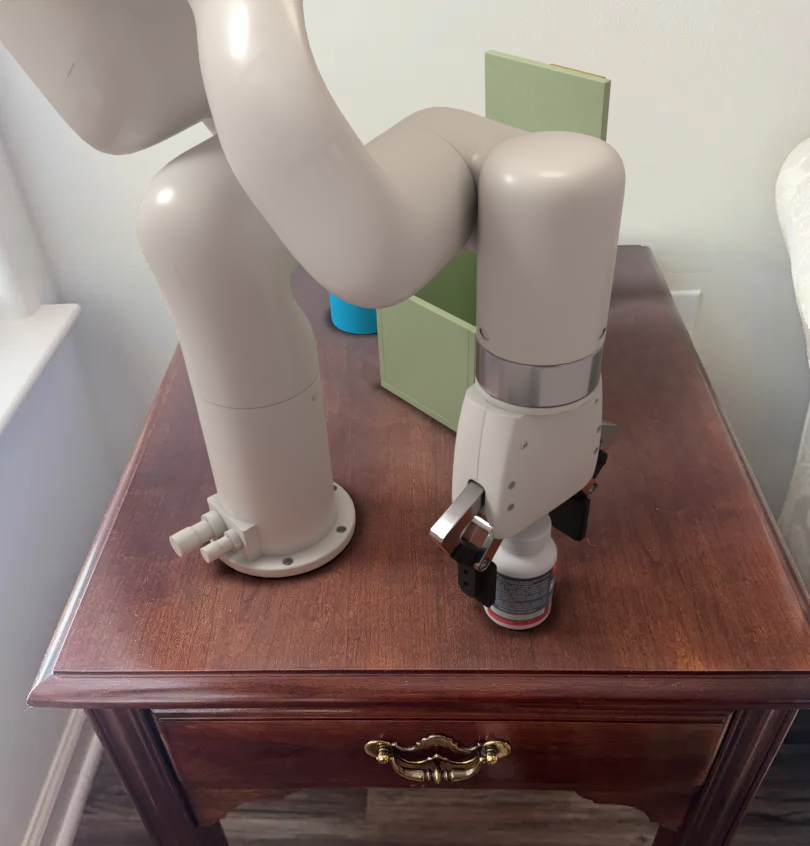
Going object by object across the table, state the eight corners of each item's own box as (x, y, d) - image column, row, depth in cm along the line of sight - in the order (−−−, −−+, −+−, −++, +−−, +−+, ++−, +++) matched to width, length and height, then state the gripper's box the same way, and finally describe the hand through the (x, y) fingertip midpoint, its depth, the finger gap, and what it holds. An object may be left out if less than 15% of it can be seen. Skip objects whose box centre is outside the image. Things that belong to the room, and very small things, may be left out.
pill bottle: (560, 625, 65) (571, 540, 59) (493, 637, 64) (498, 553, 58) (538, 576, 69) (547, 492, 62) (475, 587, 68) (478, 503, 62)
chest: (472, 442, 82) (475, 333, 73) (380, 386, 89) (374, 280, 81) (579, 379, 89) (592, 273, 81) (485, 331, 96) (489, 230, 88)
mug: (332, 336, 97) (325, 268, 91) (330, 301, 103) (324, 236, 97) (437, 328, 97) (437, 260, 92) (429, 294, 103) (428, 228, 98)
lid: (605, 82, 68) (647, 63, 71) (484, 51, 76) (525, 35, 78) (590, 270, 80) (626, 248, 82) (486, 227, 88) (523, 208, 90)
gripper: (583, 290, 57) (561, 486, 69) (388, 392, 49) (401, 594, 61) (677, 329, 53) (637, 531, 65) (480, 449, 45) (475, 654, 57)
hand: (522, 562), depth 63 cm, fingers open, 9 cm apart
